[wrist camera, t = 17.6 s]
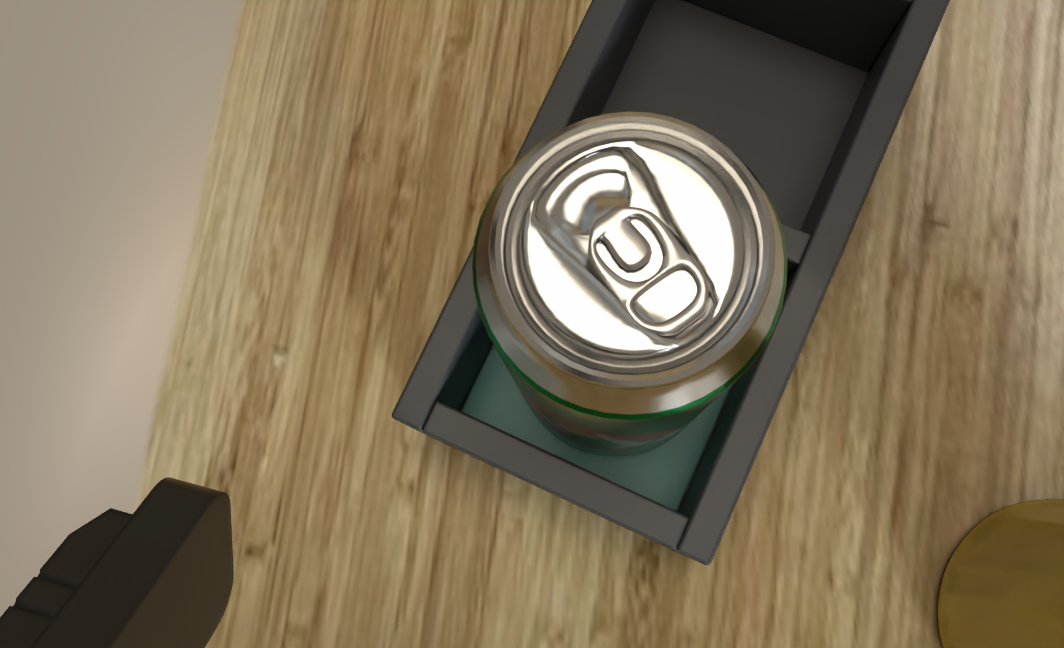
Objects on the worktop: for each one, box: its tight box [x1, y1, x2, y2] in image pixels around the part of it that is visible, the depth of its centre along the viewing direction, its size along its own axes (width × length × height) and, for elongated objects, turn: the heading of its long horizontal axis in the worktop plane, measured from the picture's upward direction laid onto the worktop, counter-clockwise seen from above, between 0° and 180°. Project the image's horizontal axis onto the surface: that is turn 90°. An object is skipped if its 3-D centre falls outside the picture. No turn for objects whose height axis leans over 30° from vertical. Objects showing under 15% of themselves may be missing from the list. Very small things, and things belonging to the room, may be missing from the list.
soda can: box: [472, 112, 787, 457], centre depth 21 cm, size 5×5×12 cm
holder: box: [392, 0, 950, 565], centre depth 26 cm, size 8×15×5 cm, turn 155°
